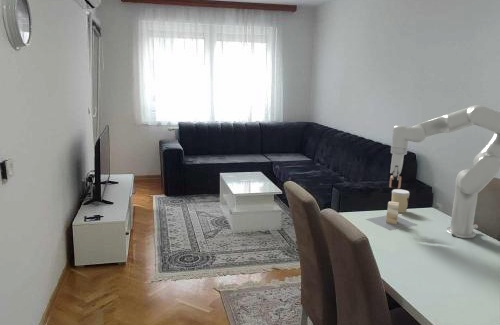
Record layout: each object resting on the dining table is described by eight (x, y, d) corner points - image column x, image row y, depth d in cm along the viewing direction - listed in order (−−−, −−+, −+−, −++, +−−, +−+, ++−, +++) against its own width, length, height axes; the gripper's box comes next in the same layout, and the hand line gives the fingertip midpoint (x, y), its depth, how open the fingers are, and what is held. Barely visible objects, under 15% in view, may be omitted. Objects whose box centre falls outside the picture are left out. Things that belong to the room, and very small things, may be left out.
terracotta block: (390, 184, 202) (391, 175, 201) (400, 186, 200) (401, 176, 199) (389, 187, 198) (390, 177, 196) (399, 188, 196) (400, 178, 195)
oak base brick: (386, 219, 206) (387, 210, 205) (397, 221, 204) (398, 212, 203) (385, 222, 201) (386, 213, 200) (396, 224, 199) (397, 214, 198)
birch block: (387, 210, 205) (388, 201, 204) (398, 212, 203) (399, 202, 202) (386, 213, 200) (387, 203, 199) (397, 214, 198) (398, 205, 197)
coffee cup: (410, 214, 217) (412, 193, 215) (393, 214, 217) (395, 193, 215) (403, 209, 227) (406, 189, 224) (387, 209, 227) (389, 188, 224)
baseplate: (392, 216, 214) (392, 214, 214) (418, 226, 199) (418, 224, 199) (365, 220, 206) (365, 219, 206) (389, 232, 191) (390, 230, 191)
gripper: (392, 147, 204) (388, 181, 208) (389, 152, 189) (385, 189, 193) (407, 148, 201) (403, 183, 205) (406, 154, 186) (401, 191, 190)
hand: (394, 185), depth 199 cm, fingers closed on terracotta block, 4 cm apart
